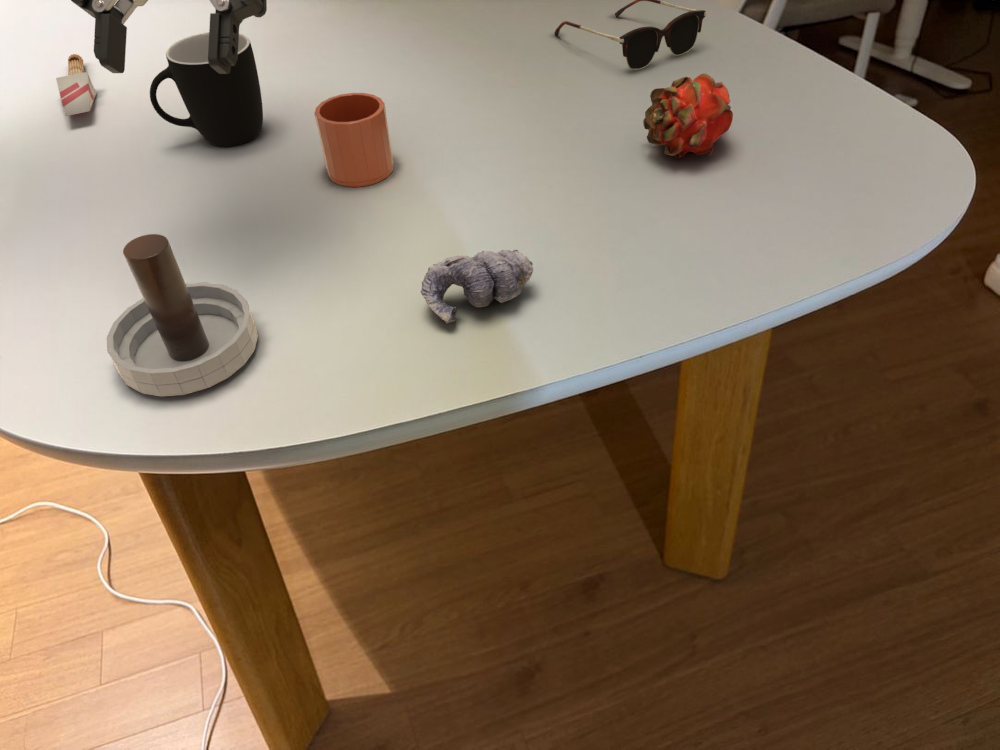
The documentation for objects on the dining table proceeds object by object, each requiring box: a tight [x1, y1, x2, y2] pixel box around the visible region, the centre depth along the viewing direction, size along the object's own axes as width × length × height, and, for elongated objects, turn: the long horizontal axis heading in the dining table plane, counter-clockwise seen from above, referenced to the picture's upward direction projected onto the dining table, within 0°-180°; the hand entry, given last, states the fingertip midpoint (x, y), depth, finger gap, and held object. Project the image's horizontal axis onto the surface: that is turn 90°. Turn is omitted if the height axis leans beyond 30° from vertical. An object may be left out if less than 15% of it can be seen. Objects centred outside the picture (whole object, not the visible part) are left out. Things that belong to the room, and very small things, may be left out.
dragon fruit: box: [642, 73, 734, 159], centre depth 84 cm, size 8×8×12 cm
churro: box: [55, 53, 98, 117], centre depth 102 cm, size 4×3×20 cm
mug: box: [149, 31, 264, 147], centre depth 89 cm, size 12×9×10 cm
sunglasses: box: [554, 0, 707, 70], centre depth 106 cm, size 14×16×5 cm
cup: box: [314, 92, 394, 188], centre depth 83 cm, size 7×7×7 cm
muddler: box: [122, 233, 209, 361], centre depth 62 cm, size 3×3×10 cm
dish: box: [106, 281, 259, 397], centre depth 64 cm, size 11×11×3 cm
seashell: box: [420, 249, 534, 325], centre depth 67 cm, size 5×5×10 cm
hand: (165, 69), depth 60 cm, fingers open, 8 cm apart
